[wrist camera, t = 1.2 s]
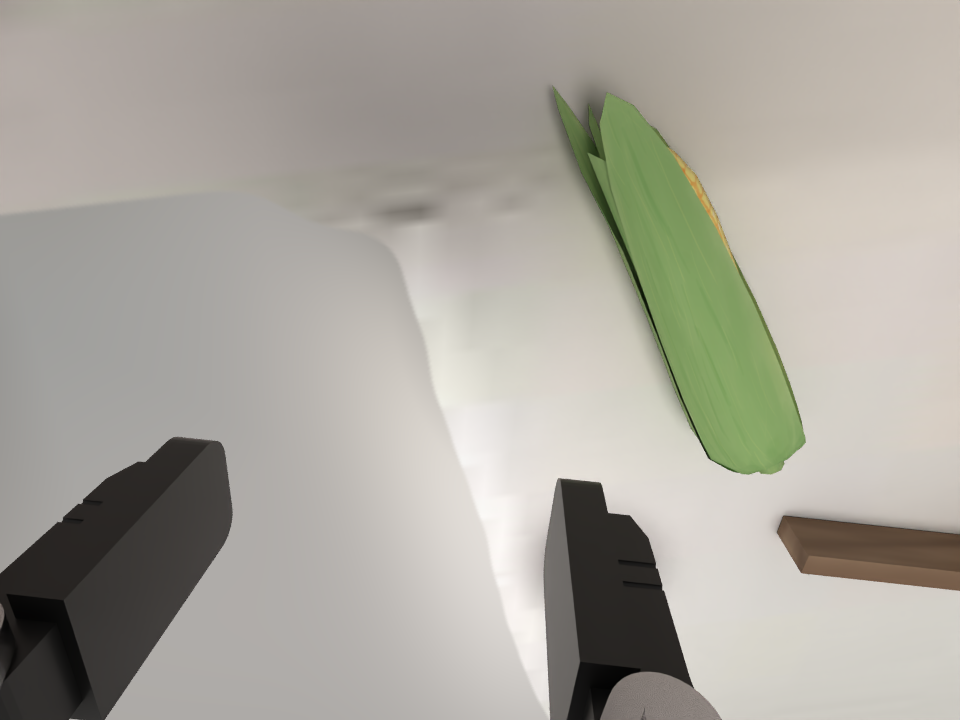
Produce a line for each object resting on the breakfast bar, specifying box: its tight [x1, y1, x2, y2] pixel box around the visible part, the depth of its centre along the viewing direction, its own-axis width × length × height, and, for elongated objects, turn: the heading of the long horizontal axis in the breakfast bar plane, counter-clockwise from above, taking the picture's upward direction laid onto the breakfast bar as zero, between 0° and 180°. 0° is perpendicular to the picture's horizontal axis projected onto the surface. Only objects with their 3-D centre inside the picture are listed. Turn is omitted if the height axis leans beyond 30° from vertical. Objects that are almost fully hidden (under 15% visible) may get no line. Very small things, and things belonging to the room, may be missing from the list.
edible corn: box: [552, 85, 806, 475], centre depth 24 cm, size 5×20×5 cm
